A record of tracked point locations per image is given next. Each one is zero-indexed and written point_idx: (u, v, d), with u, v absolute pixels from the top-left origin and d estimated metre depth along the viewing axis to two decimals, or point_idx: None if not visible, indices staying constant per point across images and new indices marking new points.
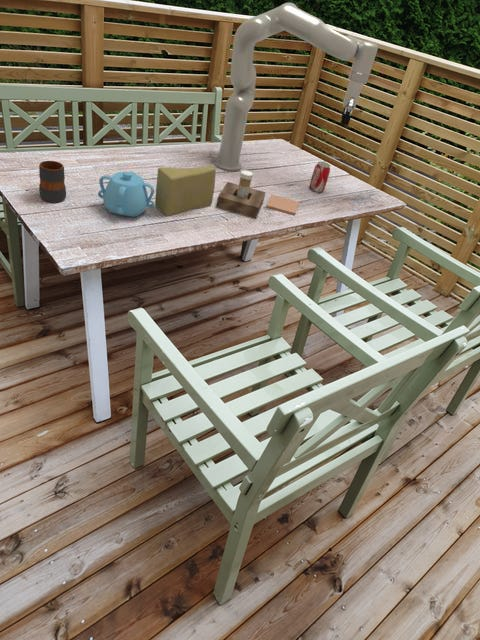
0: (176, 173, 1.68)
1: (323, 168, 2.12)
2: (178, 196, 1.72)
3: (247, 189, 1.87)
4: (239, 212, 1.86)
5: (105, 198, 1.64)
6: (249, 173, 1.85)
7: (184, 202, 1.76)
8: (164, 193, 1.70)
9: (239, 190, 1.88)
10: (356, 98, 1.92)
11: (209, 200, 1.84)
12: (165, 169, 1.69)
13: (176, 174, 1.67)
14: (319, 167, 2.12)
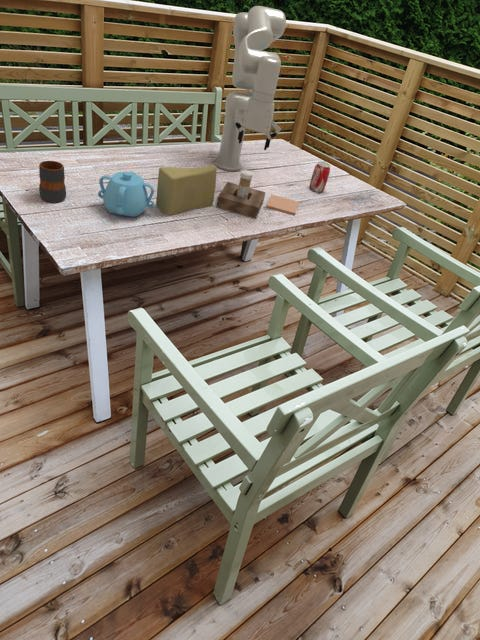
0: (177, 173, 1.69)
1: (323, 168, 2.12)
2: (179, 196, 1.72)
3: (247, 189, 1.87)
4: (239, 212, 1.86)
5: (105, 198, 1.64)
6: (249, 173, 1.85)
7: (185, 202, 1.76)
8: (165, 192, 1.70)
9: (239, 190, 1.88)
10: None
11: (210, 200, 1.85)
12: (166, 169, 1.70)
13: (177, 174, 1.68)
14: (319, 167, 2.12)
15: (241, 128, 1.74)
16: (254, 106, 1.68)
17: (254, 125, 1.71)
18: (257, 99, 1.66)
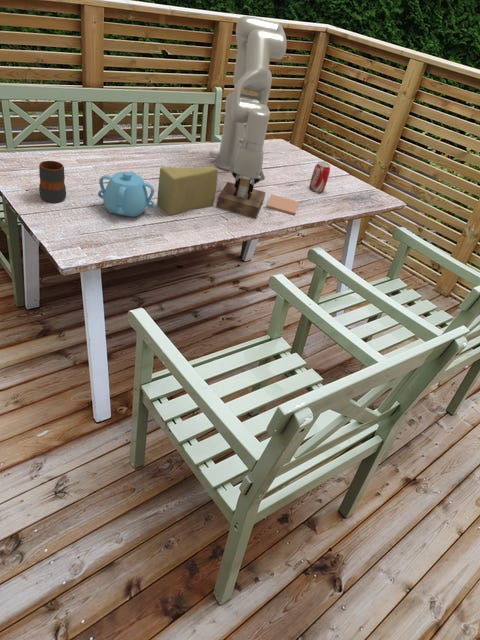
0: (178, 173, 1.69)
1: (323, 168, 2.12)
2: (180, 196, 1.72)
3: (247, 189, 1.87)
4: (239, 212, 1.86)
5: (105, 198, 1.64)
6: None
7: (186, 201, 1.76)
8: (166, 192, 1.71)
9: (239, 190, 1.88)
10: None
11: (210, 200, 1.85)
12: (167, 169, 1.70)
13: (178, 174, 1.68)
14: (319, 167, 2.12)
15: (237, 177, 1.85)
16: (245, 154, 1.78)
17: (244, 171, 1.82)
18: (247, 148, 1.76)
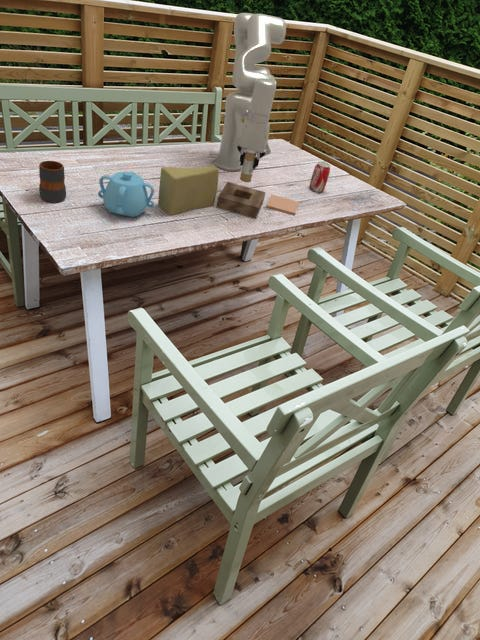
0: (179, 173, 1.69)
1: (323, 168, 2.12)
2: (181, 195, 1.73)
3: (252, 163, 1.82)
4: (239, 212, 1.86)
5: (105, 198, 1.64)
6: None
7: (187, 201, 1.76)
8: (167, 192, 1.71)
9: (244, 165, 1.82)
10: None
11: (211, 200, 1.85)
12: (168, 169, 1.70)
13: (179, 174, 1.68)
14: (319, 167, 2.12)
15: (243, 151, 1.80)
16: (250, 126, 1.72)
17: (250, 144, 1.76)
18: (253, 120, 1.70)
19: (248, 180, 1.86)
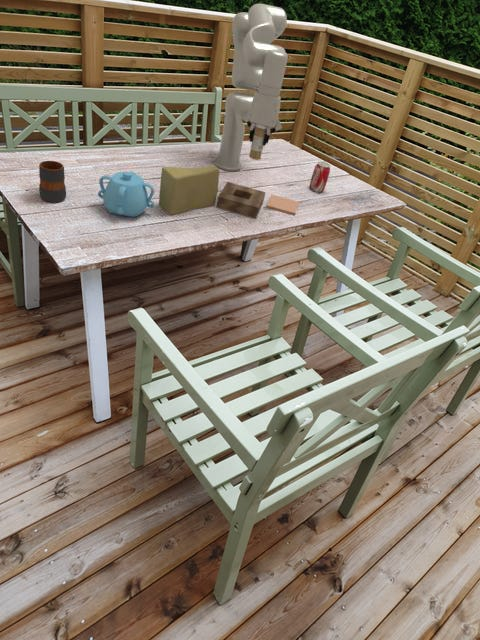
0: (179, 173, 1.69)
1: (323, 168, 2.12)
2: (182, 195, 1.73)
3: (262, 140, 1.76)
4: (239, 212, 1.86)
5: (105, 198, 1.64)
6: None
7: (188, 201, 1.77)
8: (167, 192, 1.71)
9: (254, 141, 1.77)
10: None
11: (212, 200, 1.85)
12: (169, 168, 1.70)
13: (180, 174, 1.68)
14: (319, 167, 2.12)
15: (252, 127, 1.75)
16: (260, 100, 1.67)
17: (260, 119, 1.71)
18: (263, 93, 1.65)
19: (258, 157, 1.80)
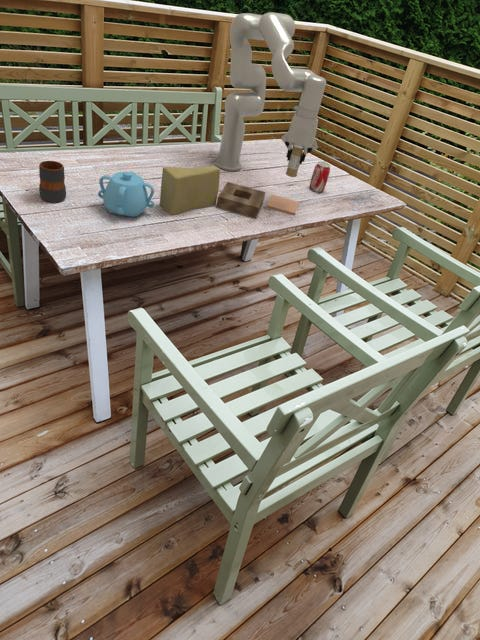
0: (180, 172, 1.70)
1: (323, 168, 2.12)
2: (183, 195, 1.73)
3: (299, 158, 1.86)
4: (239, 212, 1.86)
5: (105, 198, 1.64)
6: None
7: (188, 201, 1.77)
8: (168, 192, 1.71)
9: (291, 160, 1.87)
10: None
11: (213, 200, 1.86)
12: (170, 168, 1.70)
13: (181, 174, 1.69)
14: (319, 167, 2.12)
15: (290, 147, 1.84)
16: (299, 121, 1.77)
17: (298, 139, 1.81)
18: (302, 115, 1.75)
19: (294, 175, 1.90)
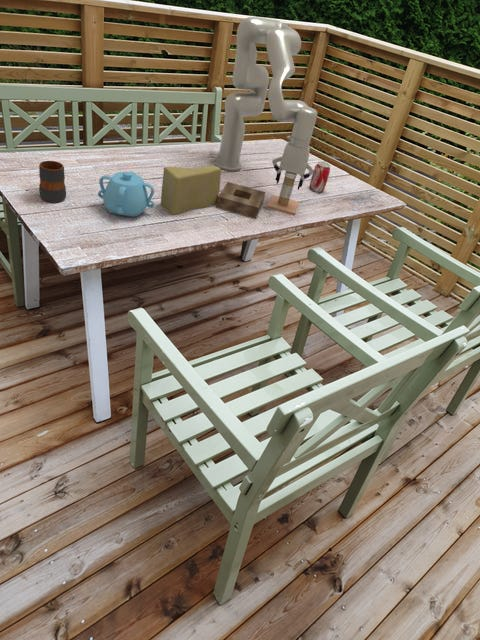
0: (181, 172, 1.70)
1: (323, 168, 2.12)
2: (184, 195, 1.73)
3: (291, 188, 1.94)
4: (239, 212, 1.86)
5: (105, 198, 1.64)
6: None
7: (189, 201, 1.77)
8: (169, 191, 1.72)
9: (283, 189, 1.94)
10: None
11: (214, 199, 1.86)
12: (171, 168, 1.71)
13: (182, 174, 1.69)
14: (319, 167, 2.12)
15: (279, 170, 1.91)
16: (292, 150, 1.84)
17: (291, 167, 1.87)
18: (295, 145, 1.82)
19: (286, 203, 1.98)
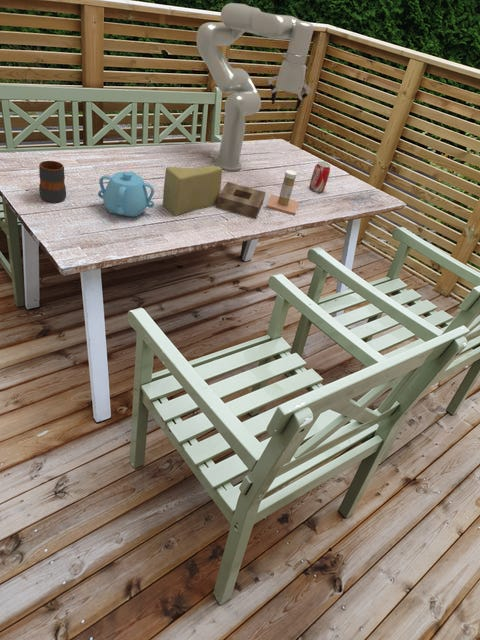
0: (184, 173, 1.70)
1: (323, 168, 2.12)
2: (186, 195, 1.73)
3: (291, 188, 1.94)
4: (239, 212, 1.86)
5: (105, 198, 1.64)
6: (293, 172, 1.91)
7: (192, 201, 1.77)
8: (172, 192, 1.72)
9: (283, 189, 1.94)
10: None
11: (215, 199, 1.86)
12: (173, 169, 1.71)
13: (184, 174, 1.69)
14: (319, 167, 2.12)
15: (274, 89, 1.90)
16: (288, 68, 1.83)
17: (287, 86, 1.87)
18: (291, 61, 1.81)
19: (286, 203, 1.98)
